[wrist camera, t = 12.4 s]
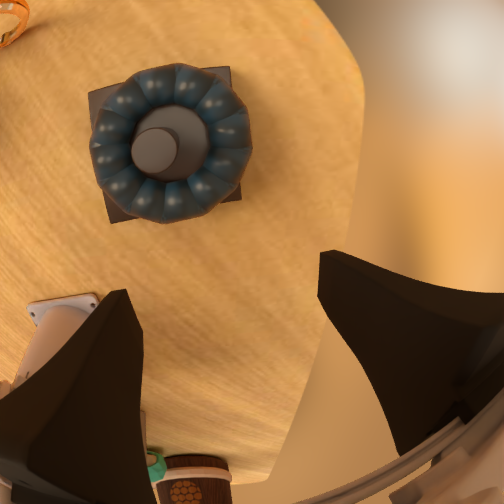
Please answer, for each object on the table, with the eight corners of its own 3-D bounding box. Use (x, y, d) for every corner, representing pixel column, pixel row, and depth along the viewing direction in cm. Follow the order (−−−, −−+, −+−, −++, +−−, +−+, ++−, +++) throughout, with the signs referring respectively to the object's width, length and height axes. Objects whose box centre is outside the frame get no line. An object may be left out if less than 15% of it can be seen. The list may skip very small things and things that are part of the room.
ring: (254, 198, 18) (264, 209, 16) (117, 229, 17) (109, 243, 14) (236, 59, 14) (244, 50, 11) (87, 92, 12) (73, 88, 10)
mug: (215, 447, 35) (235, 526, 22) (236, 468, 43) (253, 527, 30) (113, 458, 33) (117, 528, 20) (150, 479, 40) (158, 535, 27)
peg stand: (238, 195, 19) (265, 231, 13) (114, 218, 17) (86, 264, 11) (227, 69, 15) (251, 40, 9) (93, 94, 13) (49, 82, 7)
